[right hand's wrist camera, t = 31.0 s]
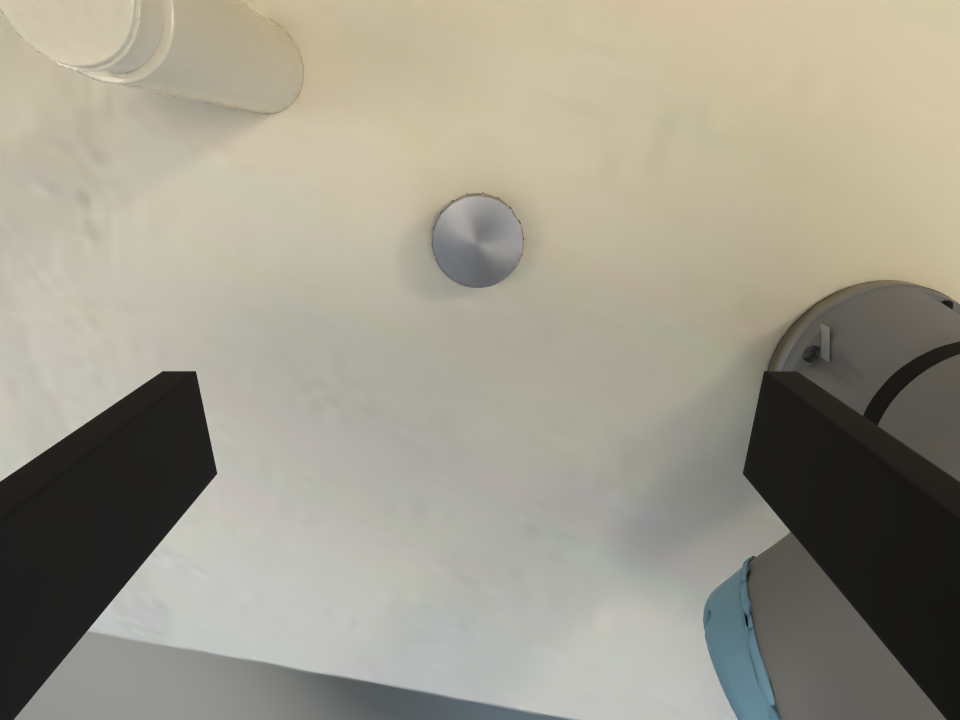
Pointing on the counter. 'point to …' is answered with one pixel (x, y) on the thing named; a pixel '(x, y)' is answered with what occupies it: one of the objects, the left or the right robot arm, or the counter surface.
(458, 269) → the lid
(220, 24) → the jar
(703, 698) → the counter surface
